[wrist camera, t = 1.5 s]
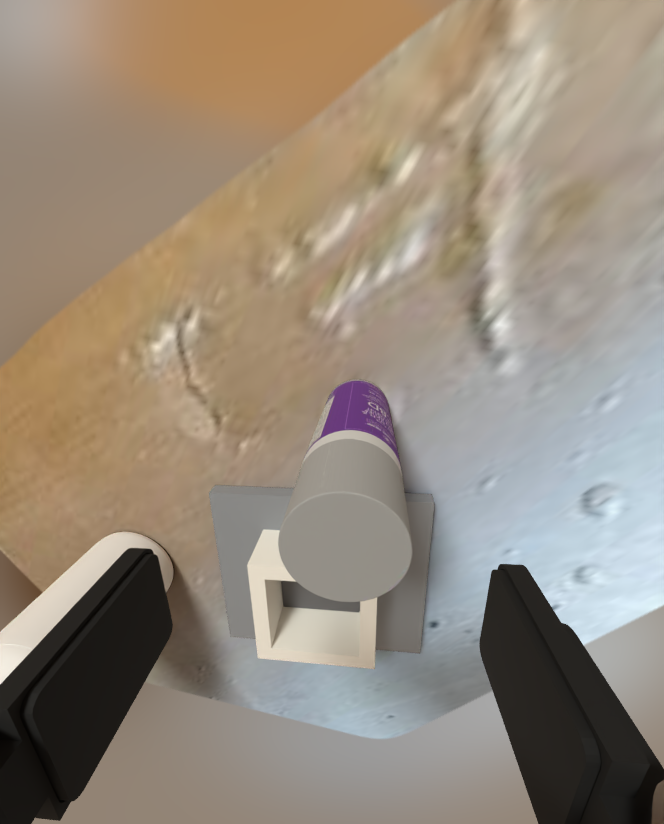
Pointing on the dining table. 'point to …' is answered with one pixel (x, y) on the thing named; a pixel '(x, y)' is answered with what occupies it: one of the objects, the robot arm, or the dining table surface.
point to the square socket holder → (301, 609)
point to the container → (349, 502)
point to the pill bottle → (69, 595)
